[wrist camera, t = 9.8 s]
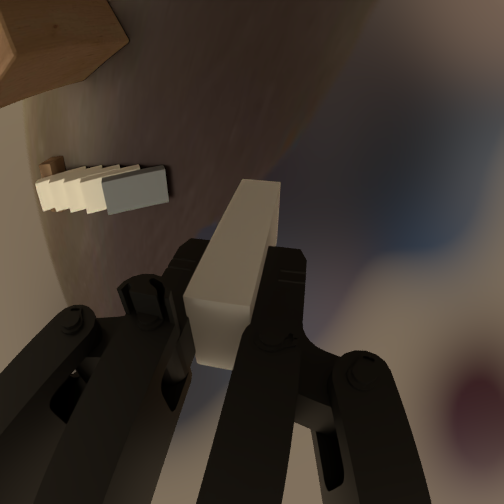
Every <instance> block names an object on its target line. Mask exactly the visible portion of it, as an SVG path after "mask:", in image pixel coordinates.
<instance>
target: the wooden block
mask: <svg viewBox="0 0 504 504" xmlns="http://www.w3.org/2000/svg"><path fill="white" fill-rule="evenodd" d="M128 42H129V39H128V38H127V36H126V34H125V32H124V30H123V29H122V27H121V25H120V23H119V22H118V20H117V18H116V16H115V14H114V13H113V11H112V9H111V7H110V6H109V4H108V2H107V0H0V108H2V107H5V106H7V105H10V104H12V103H15V102H17V101H20V100H23V99H25V98H28V97H31V96H34V95H37V94H40V93H43V92H46V91H49V90H52V89H55V88H59V87H62V86H65V85H69V84H73V83H76V82H80V81H83V80H85V79H86V78H87V77H88V76H89V75H90V74H91V73H92V72H93V71H95V70H96V69H97V68H98V67H99V66H100V65H101V64H103V63H104V62H105V61H106V60H107V59H108V58H110V57H111V56H112V55H113V54H115V53H116V52H117V51H118V50H120V49H121V48H122V47H123V46H125V45H126V44H127V43H128Z"/></svg>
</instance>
